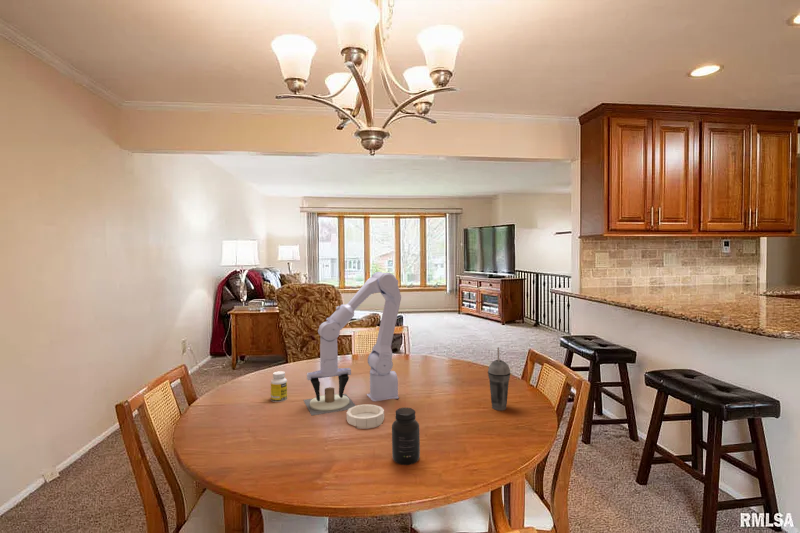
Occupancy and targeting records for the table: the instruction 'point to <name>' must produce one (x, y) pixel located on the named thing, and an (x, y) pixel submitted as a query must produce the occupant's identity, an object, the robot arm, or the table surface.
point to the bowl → (365, 416)
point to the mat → (316, 412)
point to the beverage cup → (499, 383)
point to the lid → (329, 401)
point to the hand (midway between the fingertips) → (329, 398)
